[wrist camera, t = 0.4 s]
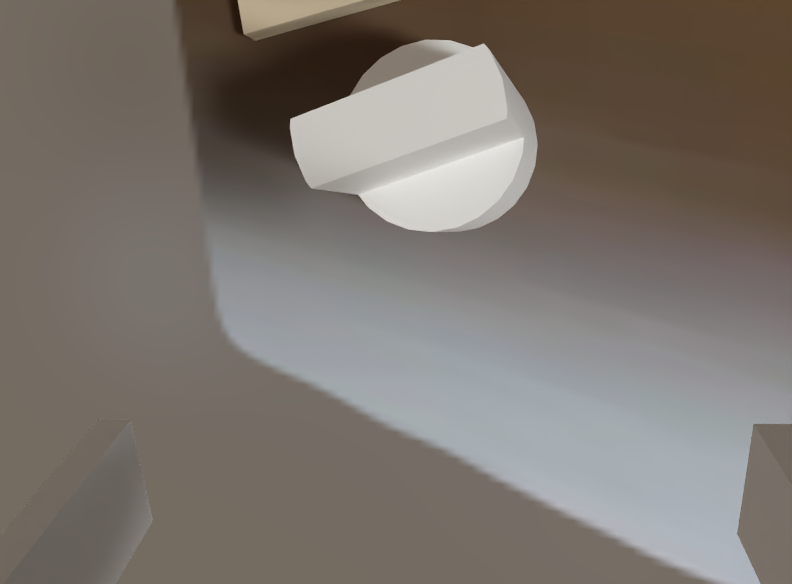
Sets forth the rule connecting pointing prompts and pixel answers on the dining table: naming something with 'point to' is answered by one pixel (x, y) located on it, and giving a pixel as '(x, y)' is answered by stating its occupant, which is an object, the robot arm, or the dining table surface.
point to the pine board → (295, 14)
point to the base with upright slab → (424, 139)
